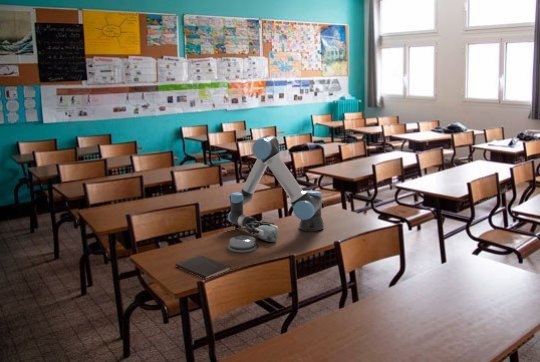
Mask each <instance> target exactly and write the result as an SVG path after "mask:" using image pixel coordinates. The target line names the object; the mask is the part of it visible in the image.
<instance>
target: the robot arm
mask: <svg viewBox="0 0 540 362" xmlns="http://www.w3.org/2000/svg"><path fill="white" fill-rule="evenodd" d="M279 148H280V142H279V140H278V138H277V137H276V136H274V135H271V134H267V135H264V136H262V137H259V138H257V139H256V140H255V141H254V142H253V144H252V147H251V150H252V154H253V156H254V157H255V158H257V159H256V161H255V163H254V164H253V167H251V168H252V169H251V171H250V172H249V174H248V176H247V178H246V180H245V183H244V185H243V186H242V188H241V190H240V191H237V192H232V193H231V194H230V212H229V213H228V215H227V220H228V222H230V223H232V224H234V225H236V226H239V227H242V229H243V230H245V231H247V232H248V233H249V234H252V235H255V234H259V235H262V236H264V231H262V230H260V229H258V227H259V226H261V225H267V226H271V227H273V228H275V229H276V231H277V233H278V232H279V226H277V225H275V223H274V222H271V221H266V220H262V219H261V220H260V221H258V220H256V218H254V217H253V216H250V215H247V214H245V213H244V206H245V205H246V204H248V203H250V202H251V201H252V200H253V198H254V193H255V191H256V189H257V187H258V185H259V183H260V182H261V179H262V177H263V176H264V173H265V172H266V169H267V167H268V168H269V170H270V171H271V172H272V174H273V175H274V177H275V178H276V180H277V181H278V182H279V184H280V186H281V187H282V189H284V192H286V194H287V196H288V197H289V200H290V202H289V203H290V205H291V207H292V208H293V209H292V210H293V212H292V213H294V216H295V217H296V218H297V219H299V220H300V221H299V223H298V228H299V230H301V229H302V230H301V231H303V230H305V231H304V232H308V231H316V232H319V231H318V230H321V229H323V228H324V229H325V224H324V220H323V217H322V204H323V203H322V202H323V201H322V199H323V197H322V192H321V191H318V190H303V188H302V187H301V186H300V184H299V183H298V181H297V180H296V179H295V177H294V176H293V174H292V173H291V171H290V170H289V168H288V166H287V165H286V164H285V163H284V161H283V159H282V157H281V156H280V155H281V152H280V150H279ZM324 229H323V230H324ZM321 231H322V230H321Z"/></svg>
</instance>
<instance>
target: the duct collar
mask: <svg viewBox="0 0 540 362" xmlns="http://www.w3.org/2000/svg"><path fill="white" fill-rule="evenodd" d="M227 249H228V251H229V252H231V253H234V254H235V253H237V254H249V253H252V252H255V251H256V250H257V249H258V243H256V238H255V237H253V236H251V235H236V236H233V237H231V238H230V239H229V244H228V245H227Z"/></svg>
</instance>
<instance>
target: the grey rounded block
mask: <svg viewBox="0 0 540 362" xmlns="http://www.w3.org/2000/svg"><path fill="white" fill-rule="evenodd" d="M257 229H260V230H262V231H264V236H262V235H259V234H257V233H256V234H257V237H258V238H259V239H260V240H262V241H265V242H270V243H275V242H276V241H277V240H278V232H277V231H276V229H275V228H273V227H271V226H267V225H261V226H260V225H259V227H258V228H257Z"/></svg>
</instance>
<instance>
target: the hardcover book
mask: <svg viewBox="0 0 540 362" xmlns="http://www.w3.org/2000/svg"><path fill="white" fill-rule="evenodd" d="M176 266H177V267H179V268H182V269H184V270H186V271H188V272H191V273H193V274H195V275H198V276H200V277H202V278H204V279H203V280H205V279H206V278H208V279H210V278H209V277H211V276H213V277H215V276H217V275H220V274H223V273H225V272H228V271H230V267H231V266H230V265H227V264H225V263H222V262H220V261H217V260H214V259H212V258H210V257H207V256H204V255H202V254H199V255H196V256H193V257H190V258H188V259H185V260H182V261H179V262H176V263H175V267H176ZM177 267H176V268H177ZM179 268H178V269H179ZM182 269H181V270H182ZM184 270H183V271H184ZM186 271H185V272H186ZM188 272H187V273H188ZM191 273H190V274H191ZM193 274H192V275H193ZM195 275H194V276H195ZM198 276H197V277H198ZM200 277H199V278H200ZM202 278H201V279H202ZM211 278H212V277H211ZM206 280H207V279H206Z"/></svg>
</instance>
